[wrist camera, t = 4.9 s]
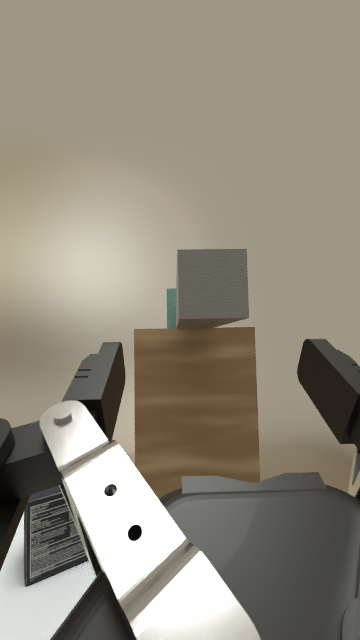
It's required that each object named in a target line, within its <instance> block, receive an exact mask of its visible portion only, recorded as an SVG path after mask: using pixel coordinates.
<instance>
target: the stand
mask: <svg viewBox="0 0 360 640" xmlns="http://www.w3.org/2000/svg"><path fill="white" fill-rule="evenodd" d="M134 354H135V355H134V357H135V358H134V360H135V468H136V469H137V470H138V472H139V473H140V475H141V476H142V477H143V479H144V480H145V482H146V483H147V484H148V486H149V487H150V489H151V490H152V492H153V493H154V494H155V496H156V497H157V499H160V498H161V497H163V496H164V495H166V494H168V493H170V492H172V491H174V490H177V489H180V488H182V476H212V475H216V476H221V477H225V478H230V479H234V480H239V481H244V482H248V483H256V482H259V481H260V467H259V466H260V464H259V437H258V409H257V382H256V353H255V328H254V327H235V328H175V329H135V330H134Z"/></svg>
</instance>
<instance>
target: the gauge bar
mask: <svg viewBox="0 0 360 640" xmlns="http://www.w3.org/2000/svg"><path fill="white" fill-rule="evenodd" d="M177 251H178V252H177V279H176V289H167V329H175V328H214V327H218V326H221V325H225V324H228V323H232V322H235V321H239V320H243V319H246V318H249V307H248V280H247V279H248V278H247V251H246V249H211V250H210V249H207V250H205V249H204V250H177Z"/></svg>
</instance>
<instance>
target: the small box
mask: <svg viewBox="0 0 360 640" xmlns="http://www.w3.org/2000/svg"><path fill="white" fill-rule="evenodd" d="M87 560H88V557H87V555H86V552H85V549H84V547H83V544H82V541H81V538H80V536H79V533H78V531H77V528H76V526H75V523H74V521H73V518H72V516H71V513H70V511H69V509H68V506H67V504H66V501H65V499H64V496H63V494H62V492H61V489H60V487H59V486H56V487H53V488H50V489H47V490H44V491H41V492H38V493H35V494H32V495H30V497H29V500H28V502H27V505H26V507H25V510H24V574H25V586H29V585H31V584H33V583H35V582H38V581H40V580H42V579H45V578H47V577H49V576H52V575H54V574H56V573H59V572H61V571H63V570H66V569H68V568H70V567H73V566H75V565H77V564H80V563H82V562H84V561H87Z"/></svg>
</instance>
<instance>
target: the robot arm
mask: <svg viewBox="0 0 360 640" xmlns="http://www.w3.org/2000/svg"><path fill="white" fill-rule="evenodd" d="M297 370H298V371H297V375H298V379H299V382H300V383H301V385H302V386H303V388H304V390H305V391H306V393H307V394H308V395H309V397H310V399H311V400H312V401H313V403H314V405H315V406H316V408H317V409H318V411H319V412H320V414H321V416H322V417H323V419H324V420H325V422H326V423H327V425H328V426H329V428H330V429H331V430H332V432H333V434H334V435H335V437H336V438H337V440H338V441H339V443H340V444H355V445H356V447H357V448H356V451H355V453H354V459H353V464H352V471H351V476H350V483H349V489H348V493H346V492H344V491H342V490H339V489H337V488H334V487H331V486H328V485H325V484H324V482H323V480H322V478H321V476H320V475H319V473H318V472H315V473H314V472H313V473H312V472H311V473H284V474H281V475H279V476H275V477H272V478H269V479H266V480H262V481H259V482H256V483H248V482H244V481H239V480H234V479H230V478H225V477H221V476H216V475H212V476H182V488H180V489H177V490H174V491H172V492H170V493H168V494H166V495H164V496H163V497H161V498H160V499H157V497H156V496H155V494H154V493H153V492H152V490H151V489H150V487H149V486H148V484H147V483H146V482H145V480H144V479H143V477H142V476H141V475H140V473H139V472H138V470H137V469H136V468H135V466H134V465H133V463H132V462H131V461H130V459H129V458H128V456H127V455H126V454H125V452H124V451H123V449H122V448H121V446H120V445H119V444H118V443H117V442H116V441H115V440H113V441H112V436H113V432H114V428H115V424H116V420H117V415H118V411H119V406H120V403H121V398H122V394H123V390H124V385H125V366H124V358H123V349H122V344H121V342H104V343H103V344H102V346H101V349H100V351H99V353H98V354H90V355H89V356H88V357H87V358H85V359H84V360H83V361H82V363H81V364H80V367H79V368H78V371H77V372H76V374H75V377H74V378H73V380H72V382H71V384H70V386H69V388H68V390H67V392H66V394H65V396H64V398H63V400H62V402H60V403H58V404H56V405H53V406H52V407H50V408H49V409H48V410H46V411H45V412H44V414H43V415H42V417H41V418H40V420H39V421H37V422H34V423H31V424H26V425H22V426H19V427H15V428H11V426H10V424H9V422H8V421H7V420H5V419H1V418H0V570H1V568H2V565H3V563H4V560H5V558H6V555H7V553H8V550H9V548H10V545H11V543H12V540H13V538H14V535H15V533H16V530H17V527H18V525H19V522H20V520H21V517H22V515H23V512H24V510H25V507H26V505H27V502H28V500H29V497H30V495H32V494H35V493H38V492H41V491H44V490H47V489H50V488H53V487H56V486H59V487H60V489H61V492H62V494H63V496H64V499H65V501H66V504H67V506H68V509H69V511H70V513H71V516H72V518H73V521H74V523H75V526H76V528H77V531H78V533H79V536H80V538H81V541H82V544H83V547H84V549H85V552H86V555H87V557H88V560H89V562H90V565H91V567H92V570H93V572H94V575H95V577H96V578H95V580H94V581H93V583H92V584H91V585H90V587H89V588H88V589H87V591H86V592H85V593H84V595H83V596H82V597H81V599H80V600H79V601H78V603H77V604H76V605H75V607H74V608H73V610H72V611H71V612H70V614H69V615H68V616H67V618H66V619H65V620H64V622H63V623H62V624H61V626H60V627H59V628H58V630H57V631H56V632H55V634H54V635H53V637H52V638H51V639H50V640H360V366H358V364H357V363H356V362H355V361H354V360H353V359H352V358H350V356H348V355H346V354H344V353H343V352H340V351H339V350H336V349H335V348H334V347H333V346H332V345H331V344H330V343H329V342H328V341H327V340H326V339H306V340H305V341H304V343H303V347H302V351H301V355H300V360H299V364H298V369H297Z"/></svg>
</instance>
